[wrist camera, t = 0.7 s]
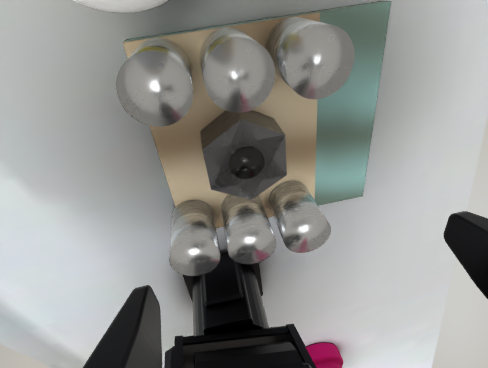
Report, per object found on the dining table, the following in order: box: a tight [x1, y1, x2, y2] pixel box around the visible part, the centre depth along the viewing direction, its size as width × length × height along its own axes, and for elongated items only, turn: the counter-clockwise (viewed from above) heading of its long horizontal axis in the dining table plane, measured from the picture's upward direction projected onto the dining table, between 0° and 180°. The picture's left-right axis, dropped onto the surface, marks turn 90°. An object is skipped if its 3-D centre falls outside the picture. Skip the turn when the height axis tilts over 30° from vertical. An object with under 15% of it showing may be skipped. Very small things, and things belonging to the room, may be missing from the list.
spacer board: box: [123, 1, 391, 228], centre depth 19 cm, size 13×14×1 cm
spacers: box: [116, 17, 355, 276], centre depth 17 cm, size 13×10×4 cm
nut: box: [200, 110, 287, 200], centre depth 17 cm, size 5×4×3 cm
